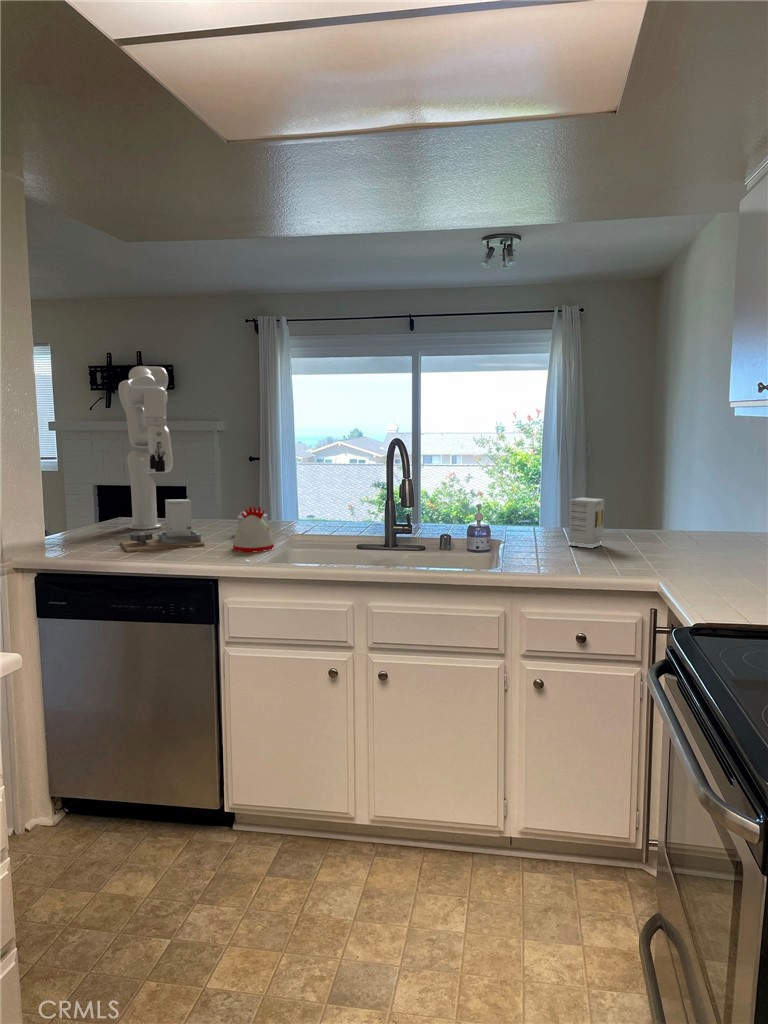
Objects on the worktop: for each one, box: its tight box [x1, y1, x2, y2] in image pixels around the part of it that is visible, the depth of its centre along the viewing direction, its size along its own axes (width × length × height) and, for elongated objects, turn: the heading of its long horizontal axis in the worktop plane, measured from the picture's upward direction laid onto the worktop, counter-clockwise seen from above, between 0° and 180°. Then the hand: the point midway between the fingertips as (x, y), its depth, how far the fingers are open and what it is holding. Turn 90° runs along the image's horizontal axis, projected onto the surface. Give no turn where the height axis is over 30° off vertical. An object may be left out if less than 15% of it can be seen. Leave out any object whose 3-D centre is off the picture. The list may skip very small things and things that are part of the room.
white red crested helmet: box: [232, 505, 275, 553], centre depth 248 cm, size 14×14×15 cm
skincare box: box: [164, 498, 192, 537], centre depth 257 cm, size 8×6×15 cm
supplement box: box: [568, 497, 605, 544], centre depth 254 cm, size 10×9×17 cm
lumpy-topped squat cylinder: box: [237, 510, 269, 527], centre depth 278 cm, size 10×13×9 cm
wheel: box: [129, 531, 153, 541], centre depth 252 cm, size 7×7×2 cm
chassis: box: [120, 529, 205, 553], centre depth 255 cm, size 18×26×4 cm
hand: (157, 470), depth 257 cm, fingers open, 9 cm apart
